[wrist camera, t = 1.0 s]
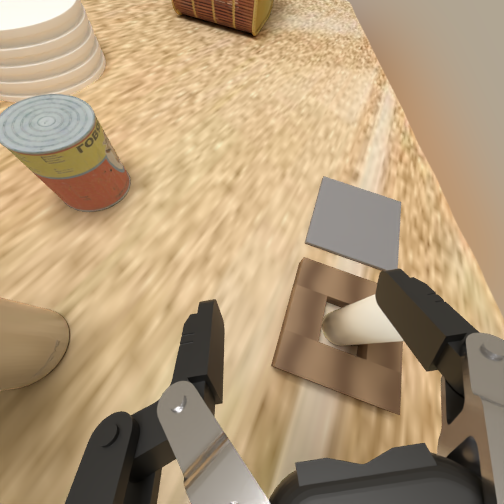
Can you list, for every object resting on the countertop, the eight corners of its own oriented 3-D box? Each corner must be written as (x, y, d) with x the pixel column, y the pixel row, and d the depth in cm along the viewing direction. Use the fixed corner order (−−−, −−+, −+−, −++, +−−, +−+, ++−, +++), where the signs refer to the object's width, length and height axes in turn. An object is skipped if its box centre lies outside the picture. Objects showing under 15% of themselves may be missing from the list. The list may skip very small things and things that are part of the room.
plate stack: (126, 50, 58) (104, -16, 47) (62, 116, 46) (13, 46, 35) (24, 25, 58) (-21, -47, 48) (-67, 83, 46) (-153, 4, 36)
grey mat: (304, 243, 38) (305, 241, 38) (322, 178, 45) (323, 176, 45) (394, 274, 37) (397, 273, 37) (399, 203, 44) (401, 202, 44)
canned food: (138, 199, 39) (103, 139, 28) (66, 221, 36) (-4, 163, 25) (121, 155, 43) (85, 87, 32) (55, 171, 40) (-10, 102, 29)
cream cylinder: (319, 338, 32) (378, 328, 19) (325, 307, 34) (382, 279, 21) (351, 350, 32) (432, 348, 19) (355, 318, 34) (431, 296, 21)
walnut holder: (271, 365, 30) (274, 366, 28) (299, 263, 37) (303, 257, 34) (386, 410, 29) (399, 415, 27) (393, 296, 36) (404, 292, 34)
